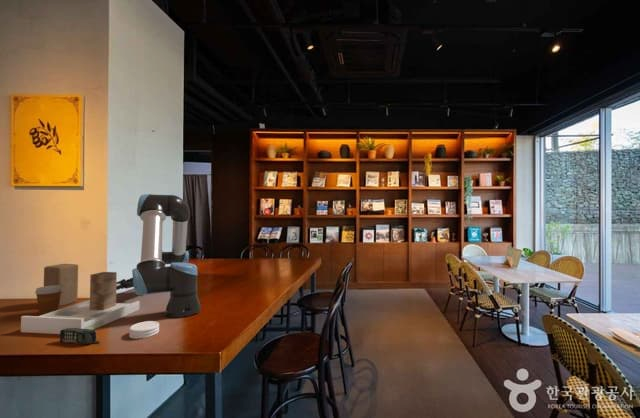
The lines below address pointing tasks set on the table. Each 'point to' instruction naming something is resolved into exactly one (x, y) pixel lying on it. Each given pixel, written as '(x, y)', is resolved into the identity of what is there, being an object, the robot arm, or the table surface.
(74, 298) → the wooden block
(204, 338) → the table surface
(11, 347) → the table surface
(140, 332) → the coaster
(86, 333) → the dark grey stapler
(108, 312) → the board
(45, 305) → the disposable coffee cup
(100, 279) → the walnut block
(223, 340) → the table surface
